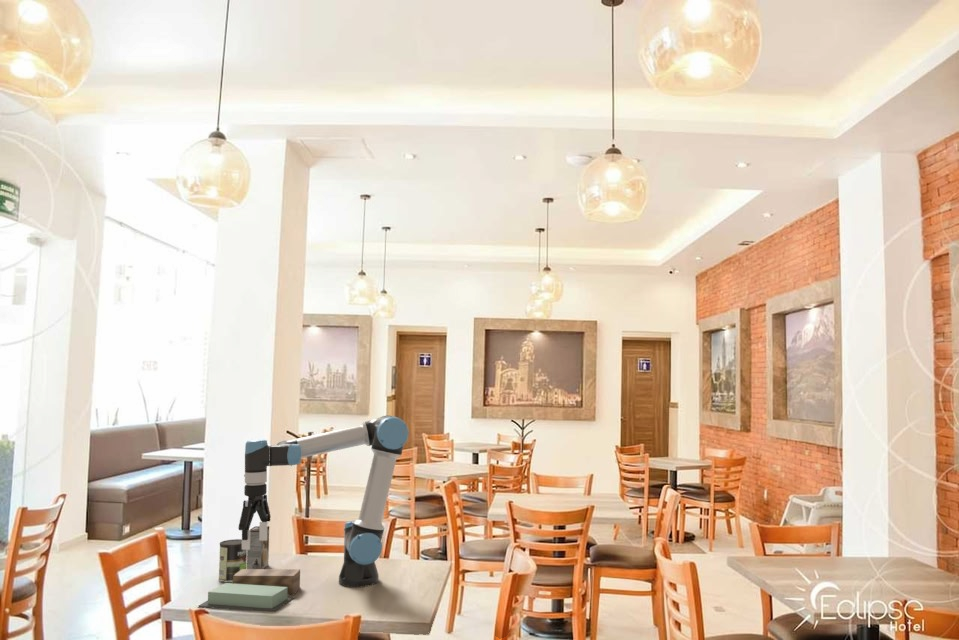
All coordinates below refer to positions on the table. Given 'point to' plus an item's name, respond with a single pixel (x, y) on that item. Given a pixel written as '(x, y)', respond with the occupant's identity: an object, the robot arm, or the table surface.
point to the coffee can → (231, 559)
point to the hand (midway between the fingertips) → (254, 544)
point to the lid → (247, 595)
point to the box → (270, 578)
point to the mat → (247, 607)
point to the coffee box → (257, 550)
